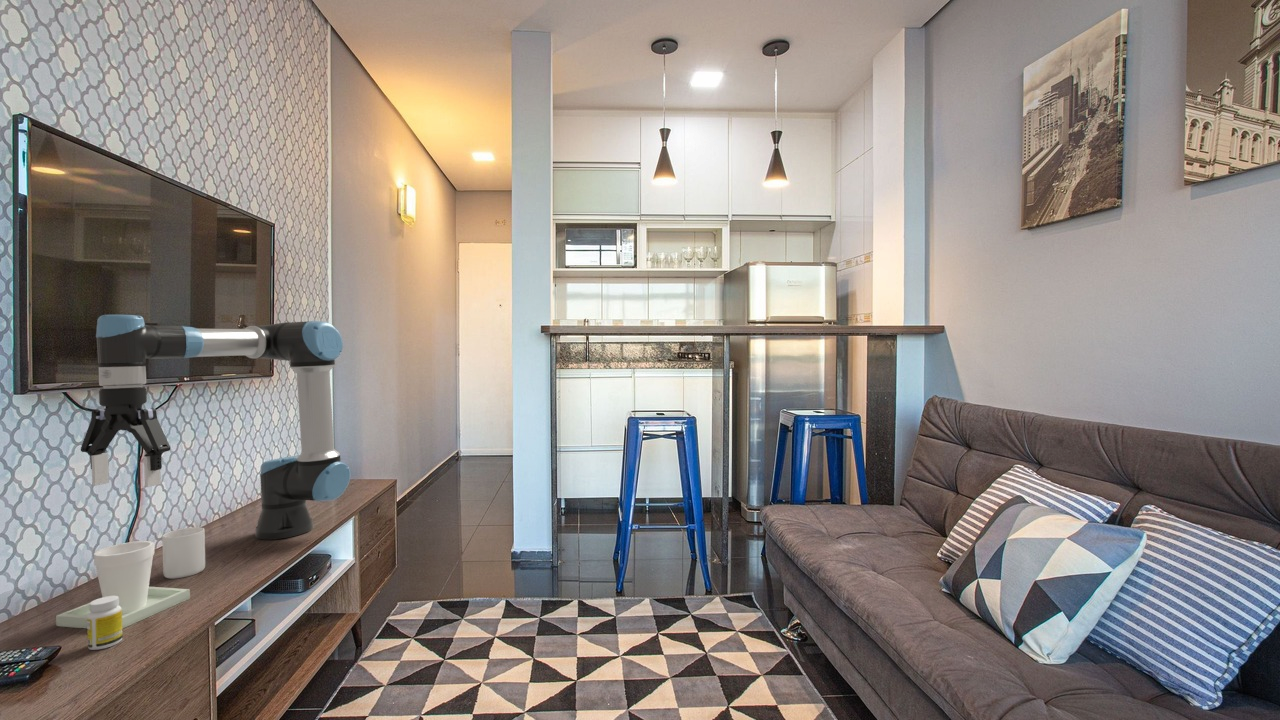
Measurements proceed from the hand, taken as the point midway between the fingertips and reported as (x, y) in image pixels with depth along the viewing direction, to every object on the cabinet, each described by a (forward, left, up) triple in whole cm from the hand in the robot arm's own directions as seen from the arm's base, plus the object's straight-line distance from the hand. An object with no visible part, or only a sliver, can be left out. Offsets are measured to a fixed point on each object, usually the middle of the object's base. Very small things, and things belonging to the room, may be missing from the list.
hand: (126, 485), depth 121 cm
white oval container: (-21, -9, -27) cm, 35 cm away
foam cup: (+1, +1, -26) cm, 26 cm away
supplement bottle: (+13, +12, -27) cm, 32 cm away
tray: (+1, +1, -27) cm, 27 cm away
